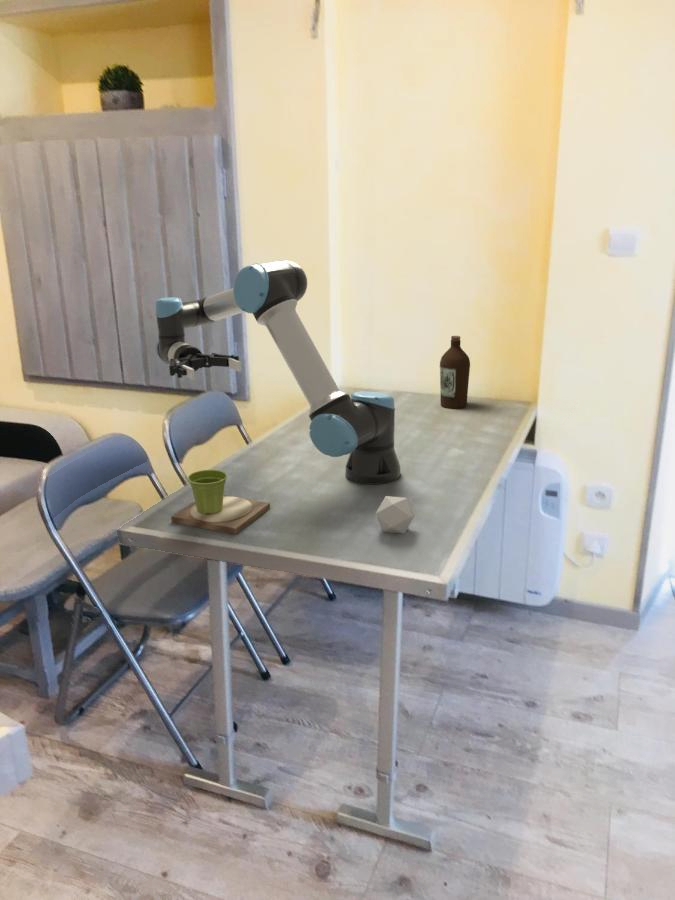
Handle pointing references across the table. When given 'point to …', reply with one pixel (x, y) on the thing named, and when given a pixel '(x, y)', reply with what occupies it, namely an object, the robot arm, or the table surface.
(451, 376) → the olive oil
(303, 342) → the robot arm
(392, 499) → the die
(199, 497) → the plant pot
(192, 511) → the walnut board
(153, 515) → the table surface
